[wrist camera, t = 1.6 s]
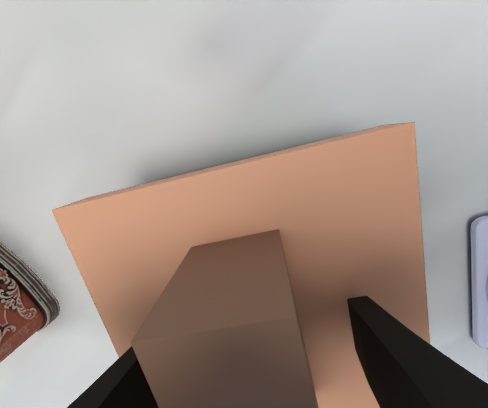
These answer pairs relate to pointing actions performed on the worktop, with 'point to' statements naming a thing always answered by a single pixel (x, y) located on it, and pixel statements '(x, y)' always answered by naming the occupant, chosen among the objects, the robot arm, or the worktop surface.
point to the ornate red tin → (21, 303)
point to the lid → (258, 270)
